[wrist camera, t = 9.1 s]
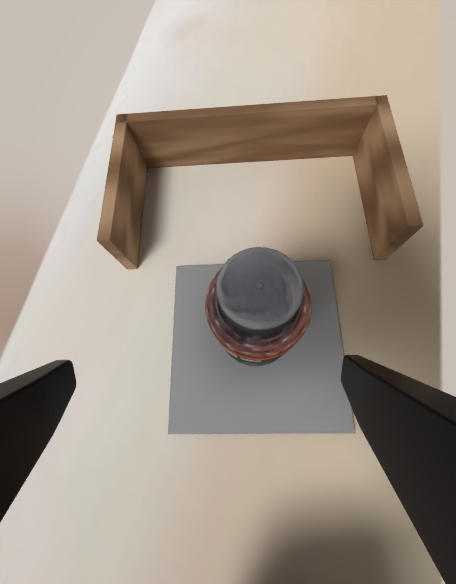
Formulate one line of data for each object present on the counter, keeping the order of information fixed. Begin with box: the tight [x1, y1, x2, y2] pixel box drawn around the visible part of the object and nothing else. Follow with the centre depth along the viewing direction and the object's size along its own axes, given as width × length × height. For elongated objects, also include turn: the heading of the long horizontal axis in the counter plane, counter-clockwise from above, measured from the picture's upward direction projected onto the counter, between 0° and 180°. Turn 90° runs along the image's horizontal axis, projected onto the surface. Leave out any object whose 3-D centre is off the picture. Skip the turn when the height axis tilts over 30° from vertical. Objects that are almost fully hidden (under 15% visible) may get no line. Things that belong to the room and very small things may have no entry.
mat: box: [168, 260, 355, 434], centre depth 23 cm, size 14×14×1 cm
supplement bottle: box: [205, 247, 312, 366], centre depth 17 cm, size 6×6×11 cm
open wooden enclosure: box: [97, 95, 423, 269], centre depth 25 cm, size 13×24×6 cm, turn 91°
